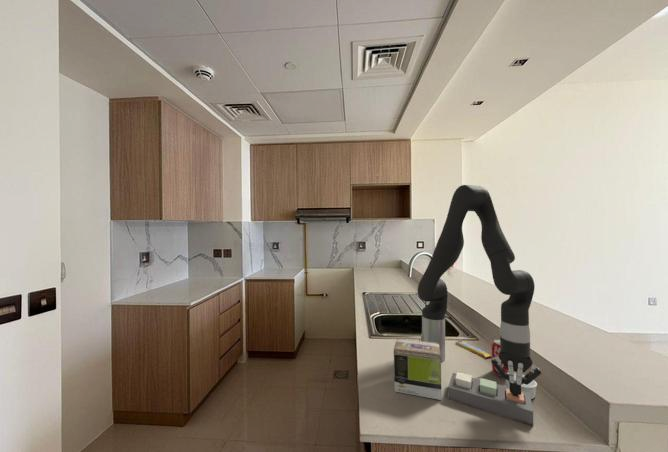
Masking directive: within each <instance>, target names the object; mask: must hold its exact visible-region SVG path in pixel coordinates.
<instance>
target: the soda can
mask: <svg viewBox="0 0 668 452" xmlns="http://www.w3.org/2000/svg"><path fill="white" fill-rule="evenodd" d="M499 352H500V338H495V339H494V340H493V342H492V344H491V358H492V357H497V356H499ZM500 362H501V364H500V365H501V366H502V367H503V369H504V370H505V371H506V373H509V370H508V369H507V368H506V367H505V366H504V364H503V363H502V361H501V360H500ZM491 369H492V372H493V373H495V374H496V376H498V377H500V378H503V377H502V376H501V374H500V373H499V372H498V371H497V369H496V368H495V367H494V365H493V364H492V363H491ZM513 372H514V373H515V371H513Z"/></svg>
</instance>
